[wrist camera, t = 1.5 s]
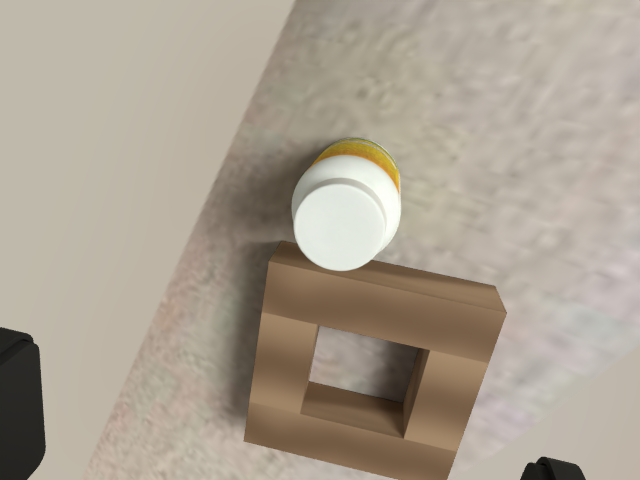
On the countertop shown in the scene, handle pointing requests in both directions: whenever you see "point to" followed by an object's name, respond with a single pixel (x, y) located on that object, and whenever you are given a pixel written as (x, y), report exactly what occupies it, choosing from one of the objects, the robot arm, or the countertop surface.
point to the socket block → (379, 322)
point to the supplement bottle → (347, 204)
